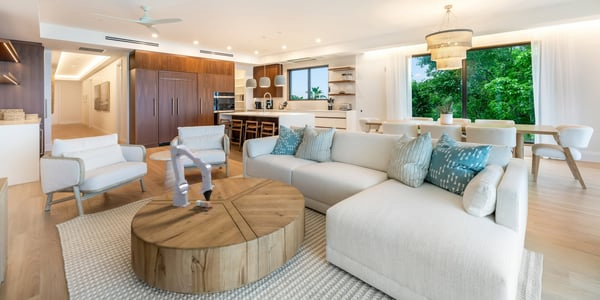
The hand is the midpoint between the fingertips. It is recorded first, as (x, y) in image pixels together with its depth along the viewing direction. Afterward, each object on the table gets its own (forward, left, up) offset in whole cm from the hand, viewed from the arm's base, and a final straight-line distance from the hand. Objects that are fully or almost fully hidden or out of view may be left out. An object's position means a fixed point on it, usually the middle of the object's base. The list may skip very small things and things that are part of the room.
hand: (207, 200), depth 205 cm
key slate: (-4, 0, -4) cm, 6 cm away
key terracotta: (0, 0, -4) cm, 4 cm away
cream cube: (-8, 0, -4) cm, 9 cm away
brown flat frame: (-4, 0, -6) cm, 7 cm away
